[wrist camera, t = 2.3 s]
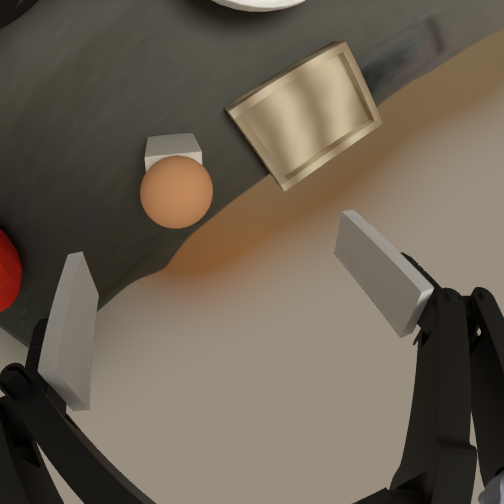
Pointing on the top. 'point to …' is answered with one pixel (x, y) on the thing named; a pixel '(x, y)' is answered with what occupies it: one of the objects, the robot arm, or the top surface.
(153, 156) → the square tube
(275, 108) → the tray
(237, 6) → the bowl
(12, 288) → the tomato
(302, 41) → the top surface
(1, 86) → the top surface
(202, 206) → the ball
